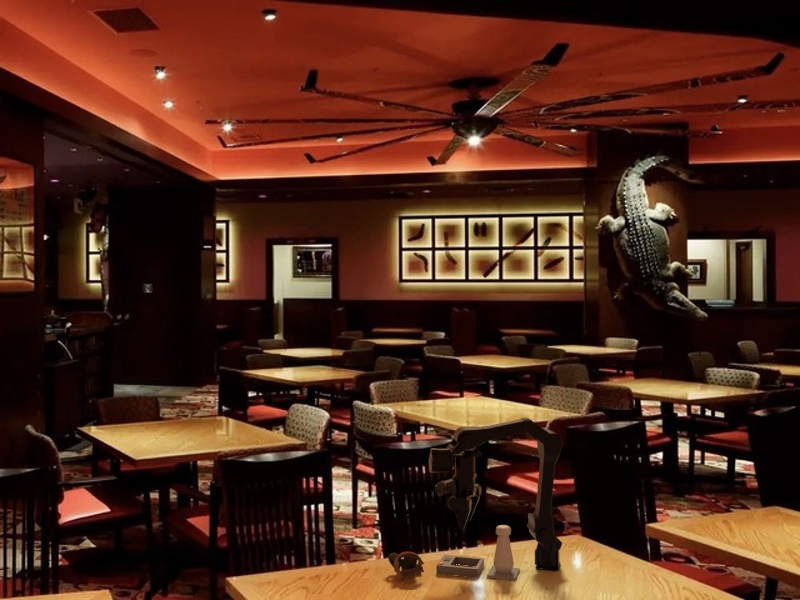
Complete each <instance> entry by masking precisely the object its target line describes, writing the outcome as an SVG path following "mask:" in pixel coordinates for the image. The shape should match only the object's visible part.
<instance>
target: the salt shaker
mask: <svg viewBox="0 0 800 600" xmlns="http://www.w3.org/2000/svg"><path fill="white" fill-rule="evenodd" d="M511 534H512V529H511V527H510V526H509V525H506V524H500V525H497V526H496V527H495V535H497V539H496V545H495V552H494V557H493V566H494V567H495V570H496V572H498V573H500V574H508V573H511V571H512V569H513V568H514V566H515V565H514V564H515V563H514V556H513V552H512V547H511V540H510V535H511Z"/></svg>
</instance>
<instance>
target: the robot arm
mask: <svg viewBox="0 0 800 600" xmlns="http://www.w3.org/2000/svg"><path fill="white" fill-rule="evenodd" d="M522 434H527V435H529V436H530V437H532V438H534V440H536V445H537V447H536V448H537V452H538V457H539V468H538V469H539V471H538V480H537V490H536V501H535V502H536V503H535V509H534V511H533V513H529V512H528V515H527V516H528V521H527V524H526V527H527V528H528V531H529V533H530V534H531V536H532V538H534V539H535V541H536V543H537V545H536V548H535V550H534V565H536V566H535V569H536V570H537V569H538V570H547V571H556V572H557V571H559V570H560V566H561V561H560V550H561V549H562V545H563V542H562V541H561V540H560V539H559V538H558V537H557V536H556V535H555V526H554V525H555V524H554V519H553V516H552V504H553V493H554V483H555V482H554V480H555V470H556V463H557V461H558V459H559V457H560V455H561V452H562V448H563V439H562V437H561V436H560V435H559V434H558V433H556V432H554V431H552V430H550V429H544V428H542V427H541V426H540V425H538V424H536V423H535V422H534V421H533V420H532V419H531V418H528V417H521V418H519V419H515V420H510V421H505V422H499V423H496V424H491V425H486V426H477V425H476V426H475V425H473V426H471V425H470V426H466V425H465V426H459V427H457V428H456V430H455V431H454V433H453V439H452V440H450V442H449V444H447V446H446V448H435V447H434V448H433V447H432V448H430V452H429V457H428V469H429V473H450V472H451V471H453V469H454V475H453V476H452V478H450V479H446V480H441V481H439V482H437V484H435V486H434V488H435V490H434V492H435V493H437V496H438V497H441V496H442V497H443V495H447V494H450V493H451V494H452V495H451V496H450V497H449V498H448V499H447V508H449V510H451V511H452V512H454V515H455V518H456V521H457V524H458V528H459V530H460V531H464V530H465V526H466V524H467V522H471V520H472V517H473V515H474V513H475V510H476V507H477V504H478V503H479V500H480V497H481V495H482V486H481V485H480V484H479V483H476V478H477V473H476V457H482V456H483V454H482V453H481V452H480V451H479V450H478V448H477V447H480V446H481V445H483V444H485V443H487V442H489V441H493V440H499V439H503V438H507V437H512V436H517V435H522Z"/></svg>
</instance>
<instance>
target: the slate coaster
mask: <svg viewBox="0 0 800 600" xmlns="http://www.w3.org/2000/svg"><path fill="white" fill-rule="evenodd" d="M518 573H520V567H513V569H512V571H511V573H508V574H500V573H498V572H496V570H495V567H494V565H492V566H491V567H490V569H489V571H488V573H487V574H486V579H492V578H496V579H495V580H502V579H503V580H504V581H512V582H513V581H514V582H515V580H517V578H518V576H519V574H518ZM503 580H502V581H503Z"/></svg>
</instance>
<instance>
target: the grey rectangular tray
mask: <svg viewBox="0 0 800 600" xmlns="http://www.w3.org/2000/svg"><path fill="white" fill-rule="evenodd" d="M456 564H457V565H456ZM458 564H460V565H468V566H476V567H468V566H458ZM455 565H456V566H455ZM483 567H484V568H485V557H473V556H464V555H463V556H462V555H452V554H451V555H450V554H443V556H441V558H440V559H439V561H438V562H437V563H436V567H435V568H436V571H435V573H436V575H442V574H443V575H444V574H445V575H444V576H452V575H459V576H458V577H462V576H467V577H466V578H472V577H477V578H476V579H478V578H479V577H480V575H481V573H482V571H483V570H484V568H483ZM482 569H483V570H482ZM479 574H480V575H479ZM443 575H442V576H443ZM478 576H479V577H478Z"/></svg>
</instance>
